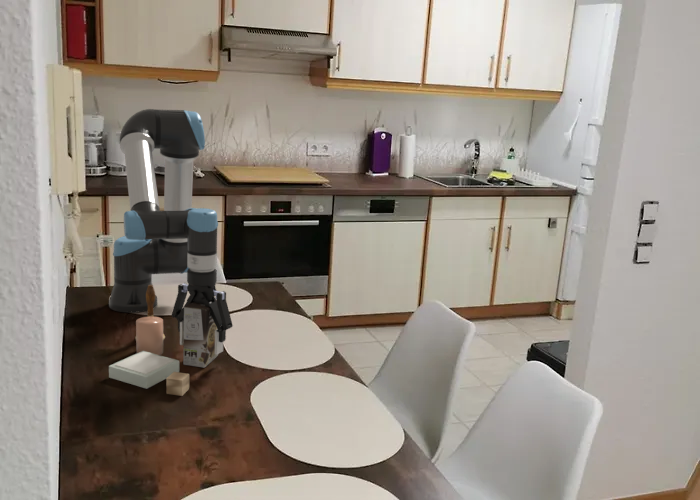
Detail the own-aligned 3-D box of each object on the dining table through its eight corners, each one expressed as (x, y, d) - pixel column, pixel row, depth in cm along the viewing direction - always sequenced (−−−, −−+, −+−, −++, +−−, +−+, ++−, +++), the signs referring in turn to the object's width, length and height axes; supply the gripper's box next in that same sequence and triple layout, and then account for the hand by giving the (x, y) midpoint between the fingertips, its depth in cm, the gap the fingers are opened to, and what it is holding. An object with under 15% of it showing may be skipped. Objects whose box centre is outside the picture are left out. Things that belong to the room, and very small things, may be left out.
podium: (109, 377, 166) (108, 365, 165) (143, 361, 176) (142, 349, 175) (146, 388, 161) (146, 376, 160) (179, 371, 171) (179, 359, 171)
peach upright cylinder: (130, 353, 181) (130, 321, 179) (148, 345, 187) (148, 314, 185) (151, 358, 178) (150, 327, 176) (168, 350, 184) (168, 319, 182)
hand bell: (169, 334, 196) (169, 282, 193) (158, 344, 188) (158, 290, 185) (142, 331, 197) (141, 279, 193) (130, 341, 189) (129, 287, 185)
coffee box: (205, 368, 174) (206, 309, 171) (182, 365, 175) (182, 306, 172) (219, 355, 183) (219, 299, 179) (197, 352, 184) (197, 296, 180)
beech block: (166, 393, 159) (166, 378, 158) (173, 387, 163) (173, 371, 162) (182, 396, 158) (182, 380, 157) (189, 389, 162) (189, 373, 161)
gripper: (157, 264, 175) (157, 343, 180) (230, 279, 165) (229, 362, 170) (176, 258, 181) (176, 335, 186) (247, 272, 172) (245, 352, 177)
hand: (201, 348), depth 178 cm, fingers open, 11 cm apart
